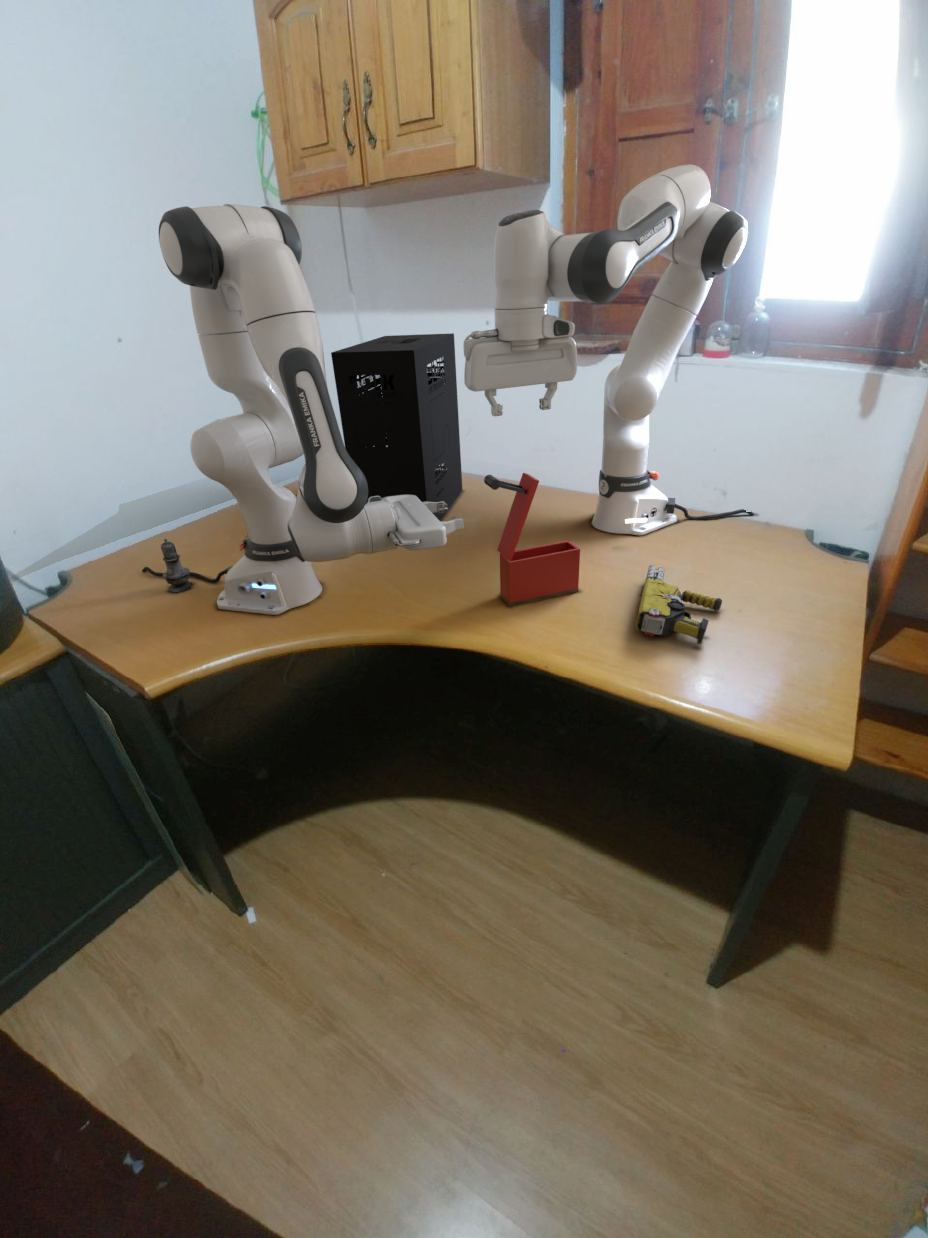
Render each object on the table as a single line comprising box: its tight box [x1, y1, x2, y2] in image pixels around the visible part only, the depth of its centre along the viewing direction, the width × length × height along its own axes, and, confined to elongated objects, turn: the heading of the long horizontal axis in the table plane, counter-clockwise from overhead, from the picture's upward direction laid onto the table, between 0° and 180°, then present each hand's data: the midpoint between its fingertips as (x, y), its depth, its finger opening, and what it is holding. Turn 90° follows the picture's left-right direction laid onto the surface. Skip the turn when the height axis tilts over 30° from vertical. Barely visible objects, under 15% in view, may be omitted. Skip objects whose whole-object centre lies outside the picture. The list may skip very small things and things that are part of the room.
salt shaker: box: [160, 538, 194, 593], centre depth 136 cm, size 6×6×12 cm
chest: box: [499, 540, 581, 607], centre depth 125 cm, size 16×5×10 cm, turn 109°
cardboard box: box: [330, 332, 463, 522], centre depth 165 cm, size 38×20×45 cm, turn 167°
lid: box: [483, 472, 540, 560], centre depth 116 cm, size 16×5×9 cm
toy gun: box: [635, 564, 723, 645], centre depth 117 cm, size 5×24×15 cm
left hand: (454, 514), depth 113 cm, fingers open, 8 cm apart
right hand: (521, 412), depth 108 cm, fingers open, 8 cm apart
